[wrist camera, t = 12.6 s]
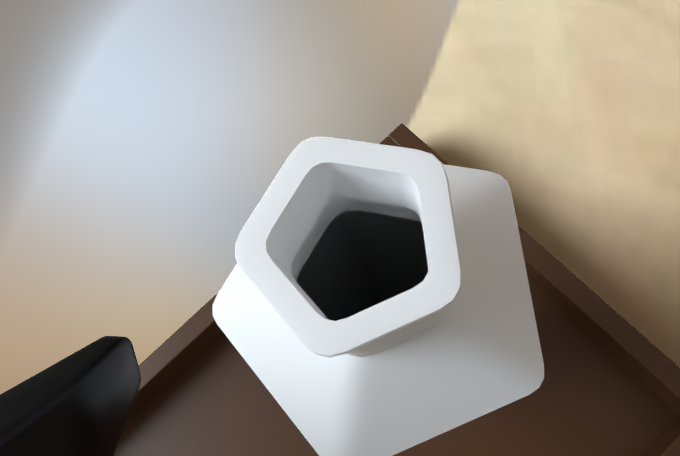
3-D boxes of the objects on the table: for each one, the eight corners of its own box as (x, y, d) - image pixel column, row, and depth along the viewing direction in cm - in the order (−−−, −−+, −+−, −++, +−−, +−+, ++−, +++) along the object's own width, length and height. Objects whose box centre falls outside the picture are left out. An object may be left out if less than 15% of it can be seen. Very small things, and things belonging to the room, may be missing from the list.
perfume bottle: (444, 461, 18) (466, 642, 4) (328, 388, 20) (50, 342, 6) (510, 335, 19) (710, 139, 5) (395, 272, 21) (300, -25, 6)
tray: (297, 842, 17) (278, 901, 15) (58, 468, 21) (19, 474, 19) (704, 416, 18) (736, 417, 16) (404, 147, 22) (401, 122, 21)
